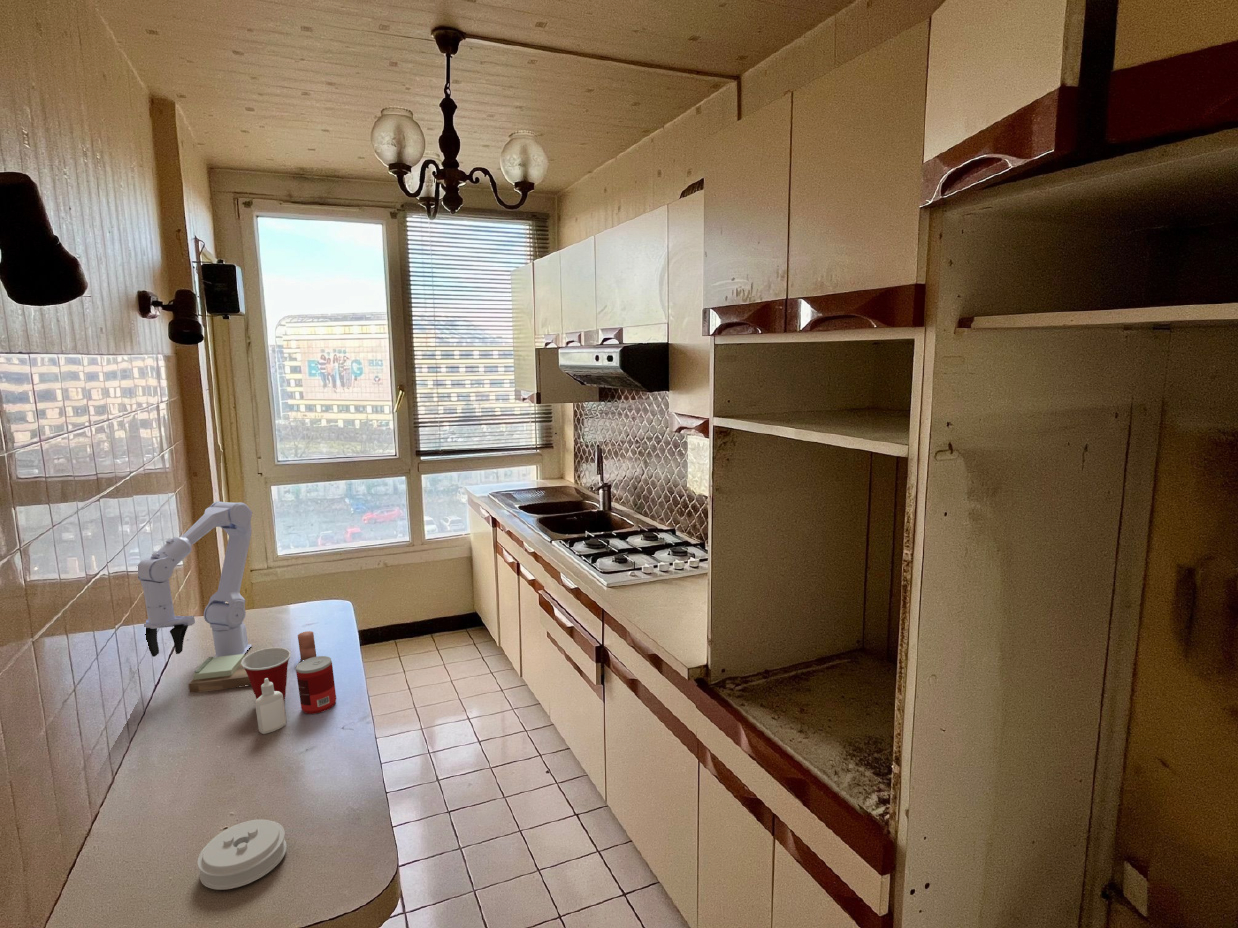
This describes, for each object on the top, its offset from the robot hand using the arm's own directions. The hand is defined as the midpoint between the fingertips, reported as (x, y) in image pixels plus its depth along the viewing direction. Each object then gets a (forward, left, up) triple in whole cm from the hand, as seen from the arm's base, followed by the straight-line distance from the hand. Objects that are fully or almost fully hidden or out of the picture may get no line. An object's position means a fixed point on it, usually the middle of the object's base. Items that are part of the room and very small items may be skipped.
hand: (167, 653), depth 179 cm
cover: (0, +12, -6) cm, 13 cm away
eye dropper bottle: (+31, +34, -9) cm, 47 cm away
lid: (+76, +43, -9) cm, 88 cm away
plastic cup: (+18, +30, -9) cm, 36 cm away
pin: (-7, +32, -8) cm, 34 cm away
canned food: (+23, +42, -9) cm, 49 cm away
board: (0, +16, -8) cm, 18 cm away
